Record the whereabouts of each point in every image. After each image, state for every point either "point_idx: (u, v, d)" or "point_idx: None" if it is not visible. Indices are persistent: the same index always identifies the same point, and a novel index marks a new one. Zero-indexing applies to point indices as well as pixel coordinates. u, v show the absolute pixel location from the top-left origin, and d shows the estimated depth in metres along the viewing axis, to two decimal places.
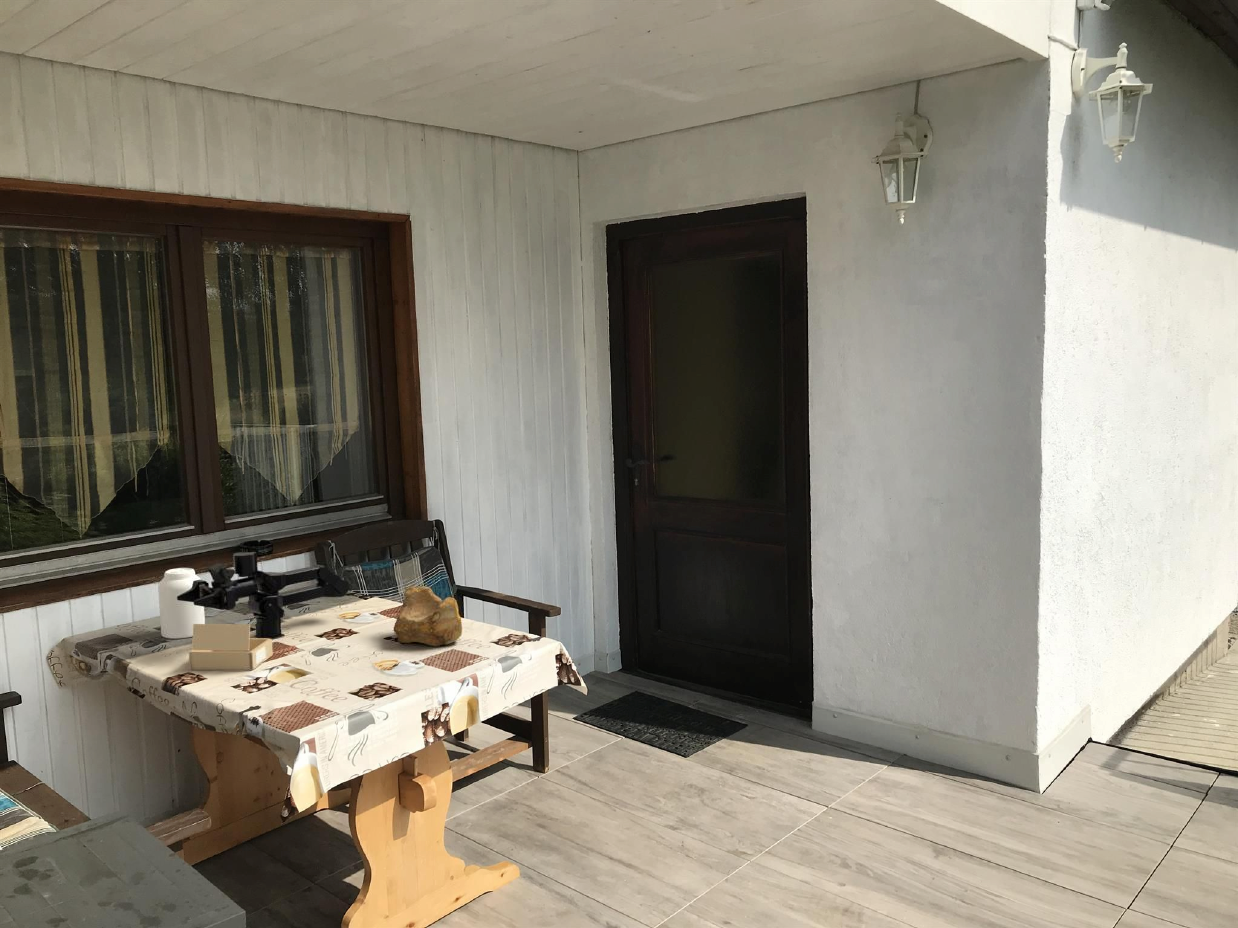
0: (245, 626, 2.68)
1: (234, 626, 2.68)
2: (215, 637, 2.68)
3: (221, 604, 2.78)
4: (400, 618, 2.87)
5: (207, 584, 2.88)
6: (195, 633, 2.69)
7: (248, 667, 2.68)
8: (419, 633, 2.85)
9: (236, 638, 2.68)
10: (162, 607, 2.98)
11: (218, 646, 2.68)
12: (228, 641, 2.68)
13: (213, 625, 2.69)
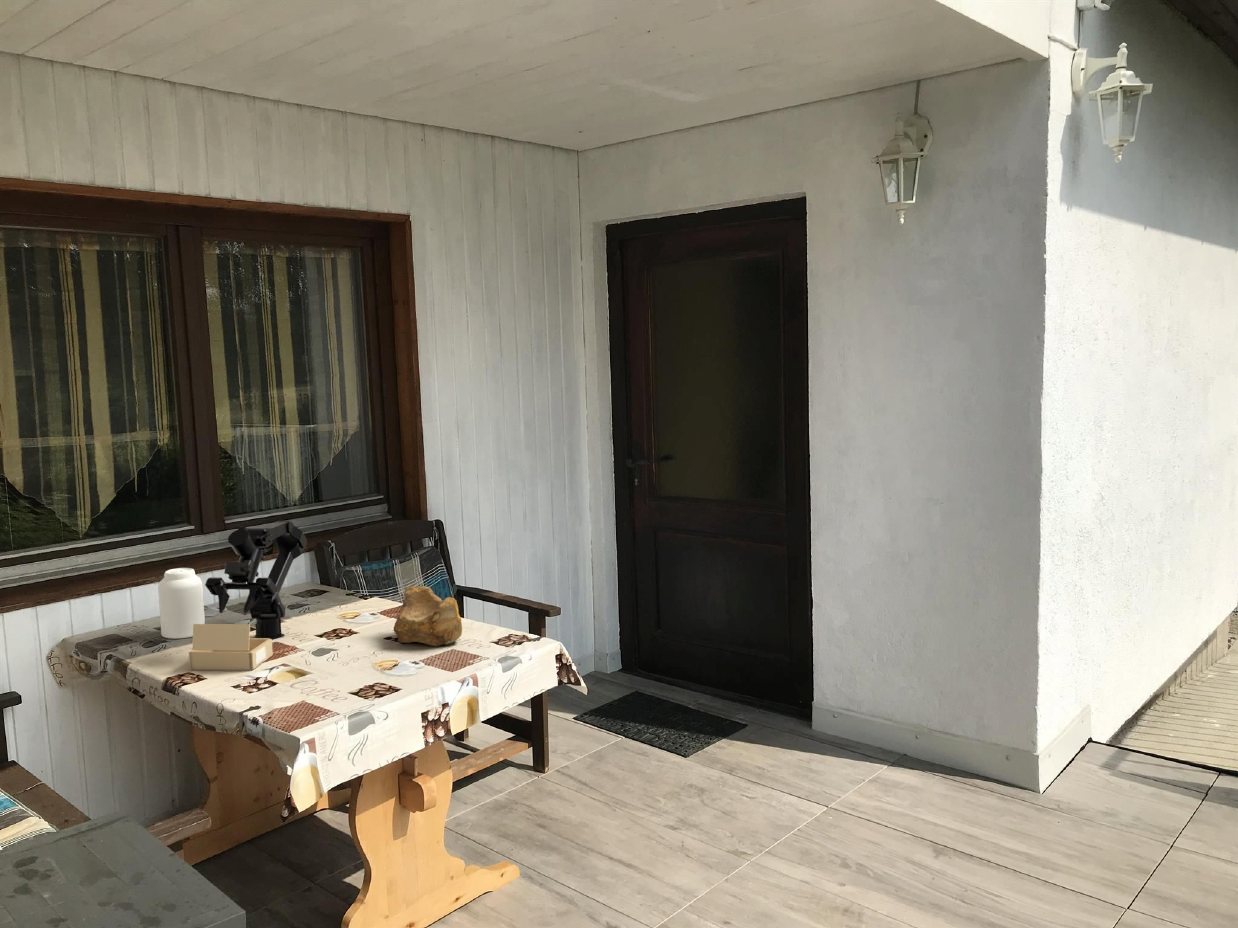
0: (245, 626, 2.68)
1: (234, 626, 2.68)
2: (215, 637, 2.68)
3: (262, 595, 2.80)
4: (400, 618, 2.87)
5: (221, 579, 2.80)
6: (195, 633, 2.69)
7: (248, 667, 2.68)
8: (419, 633, 2.85)
9: (236, 638, 2.68)
10: (162, 607, 2.98)
11: (218, 646, 2.68)
12: (228, 641, 2.68)
13: (213, 625, 2.69)
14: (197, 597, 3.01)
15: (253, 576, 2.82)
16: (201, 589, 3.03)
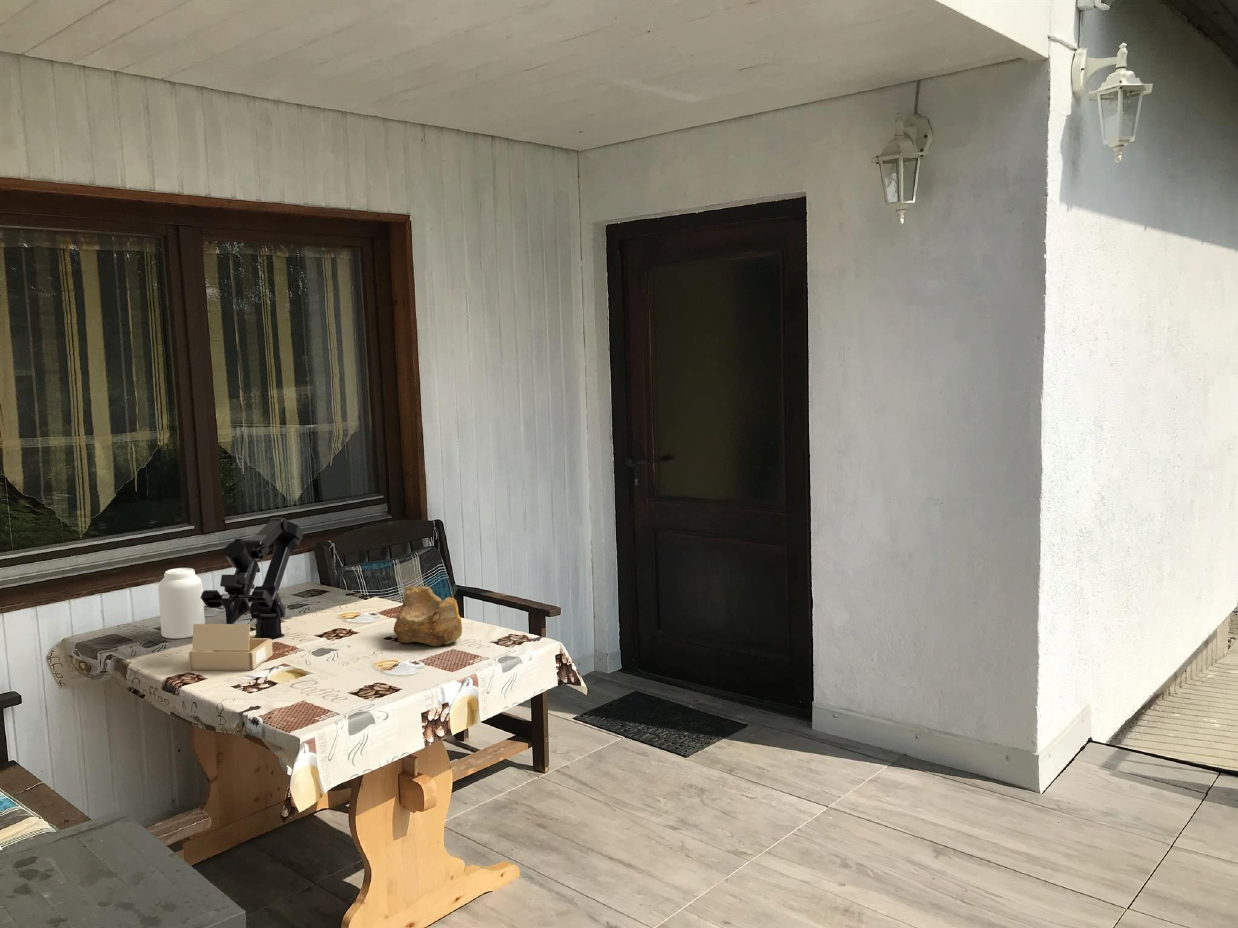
0: (245, 626, 2.68)
1: (234, 626, 2.68)
2: (215, 637, 2.68)
3: (247, 607, 2.77)
4: (400, 618, 2.87)
5: (217, 591, 2.78)
6: (195, 633, 2.69)
7: (248, 667, 2.68)
8: (419, 634, 2.85)
9: (236, 638, 2.68)
10: (162, 607, 2.98)
11: (218, 646, 2.68)
12: (228, 641, 2.68)
13: (213, 625, 2.69)
14: (197, 597, 3.01)
15: (249, 588, 2.79)
16: (201, 589, 3.03)
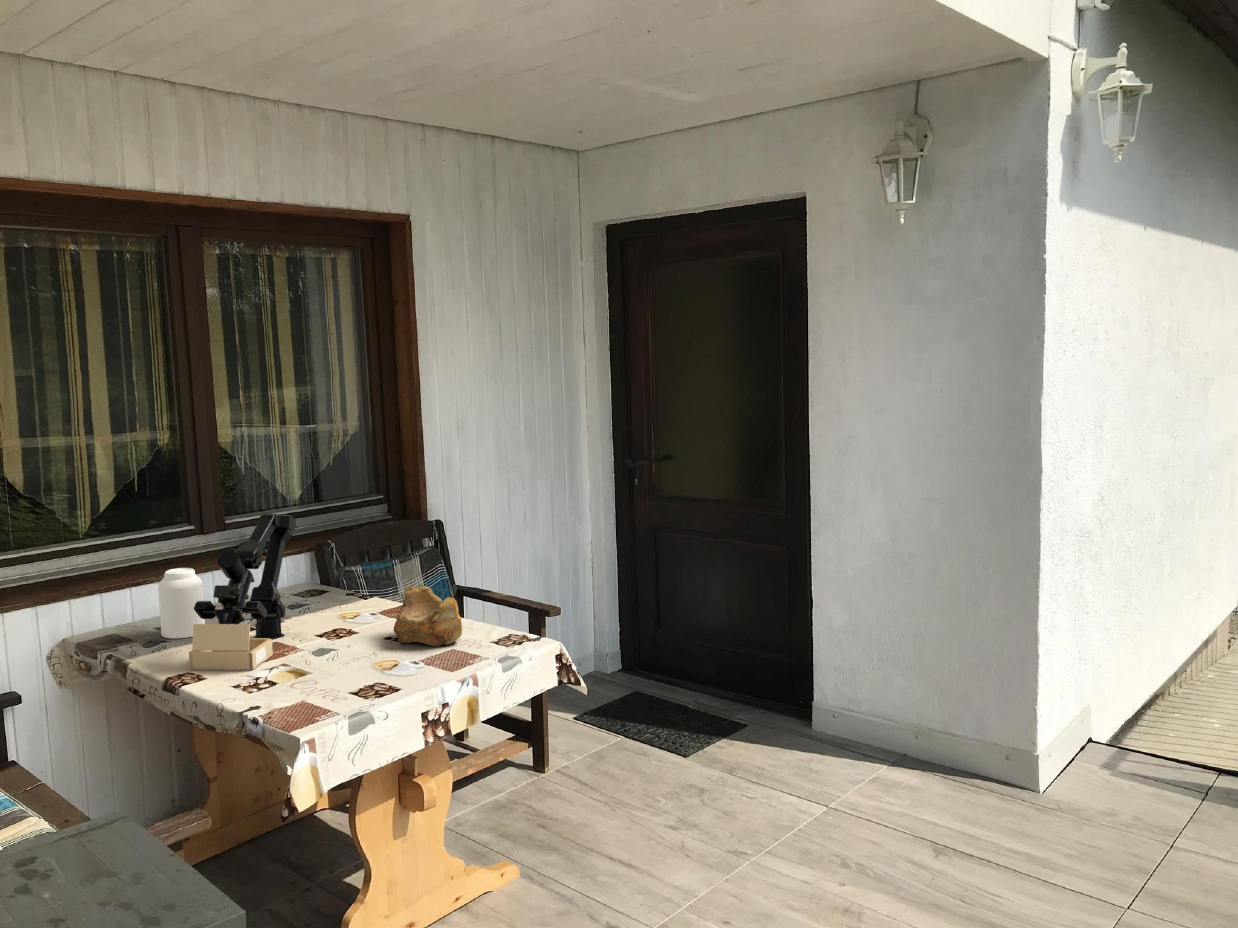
0: (245, 626, 2.68)
1: (234, 626, 2.68)
2: (215, 637, 2.68)
3: (241, 618, 2.74)
4: (400, 618, 2.87)
5: (210, 602, 2.74)
6: (195, 633, 2.69)
7: (248, 667, 2.68)
8: (419, 634, 2.85)
9: (236, 638, 2.68)
10: (162, 607, 2.98)
11: (218, 646, 2.68)
12: (228, 641, 2.68)
13: (213, 625, 2.69)
14: (197, 597, 3.01)
15: (243, 599, 2.76)
16: (201, 589, 3.03)
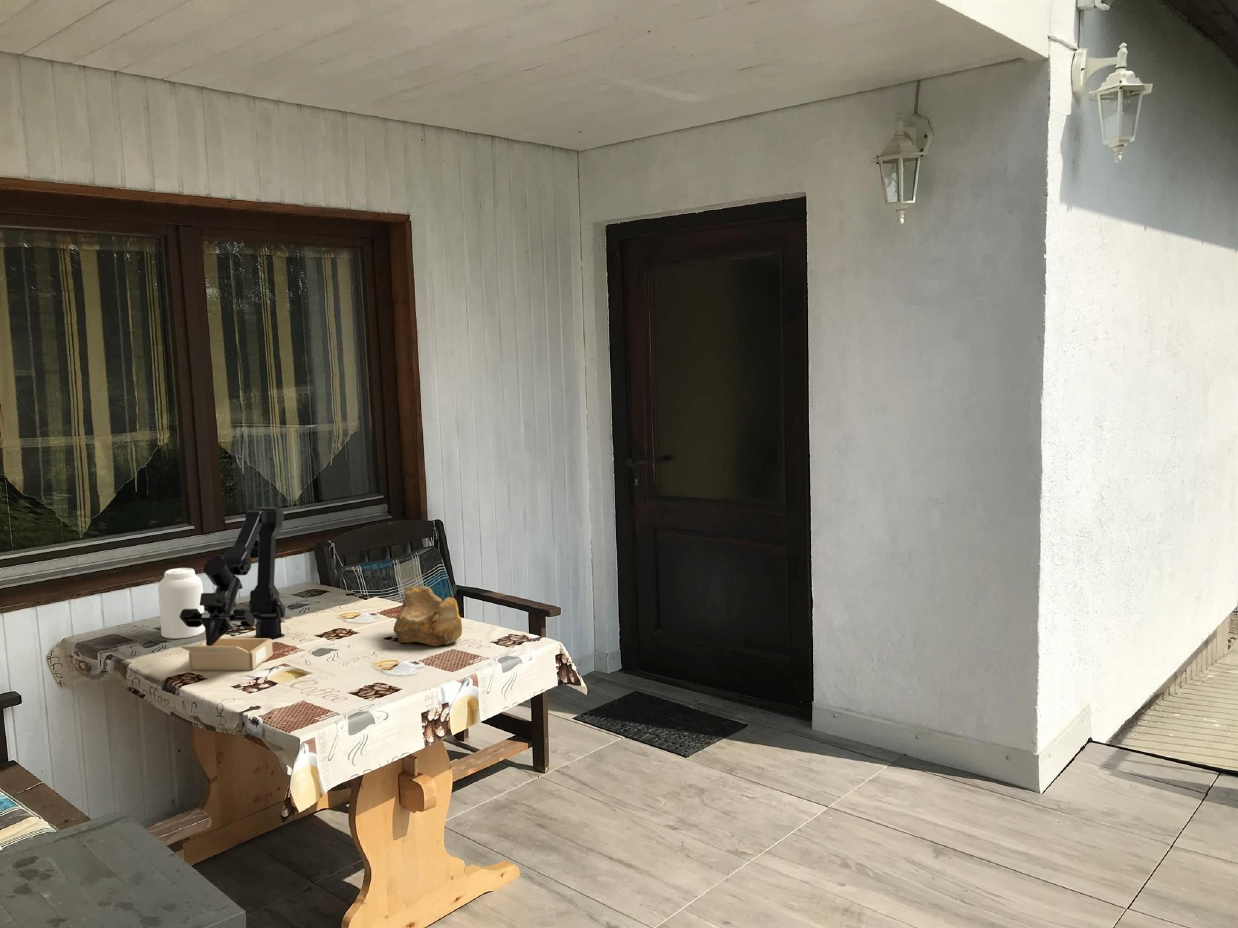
0: (233, 647, 2.61)
1: (222, 647, 2.61)
2: (208, 649, 2.64)
3: (228, 627, 2.66)
4: (400, 618, 2.87)
5: (196, 610, 2.66)
6: (186, 648, 2.64)
7: (248, 667, 2.68)
8: (419, 633, 2.85)
9: (230, 649, 2.64)
10: (162, 607, 2.98)
11: (215, 651, 2.66)
12: (223, 650, 2.65)
13: (200, 647, 2.61)
14: (197, 597, 3.01)
15: (230, 607, 2.68)
16: (201, 589, 3.03)
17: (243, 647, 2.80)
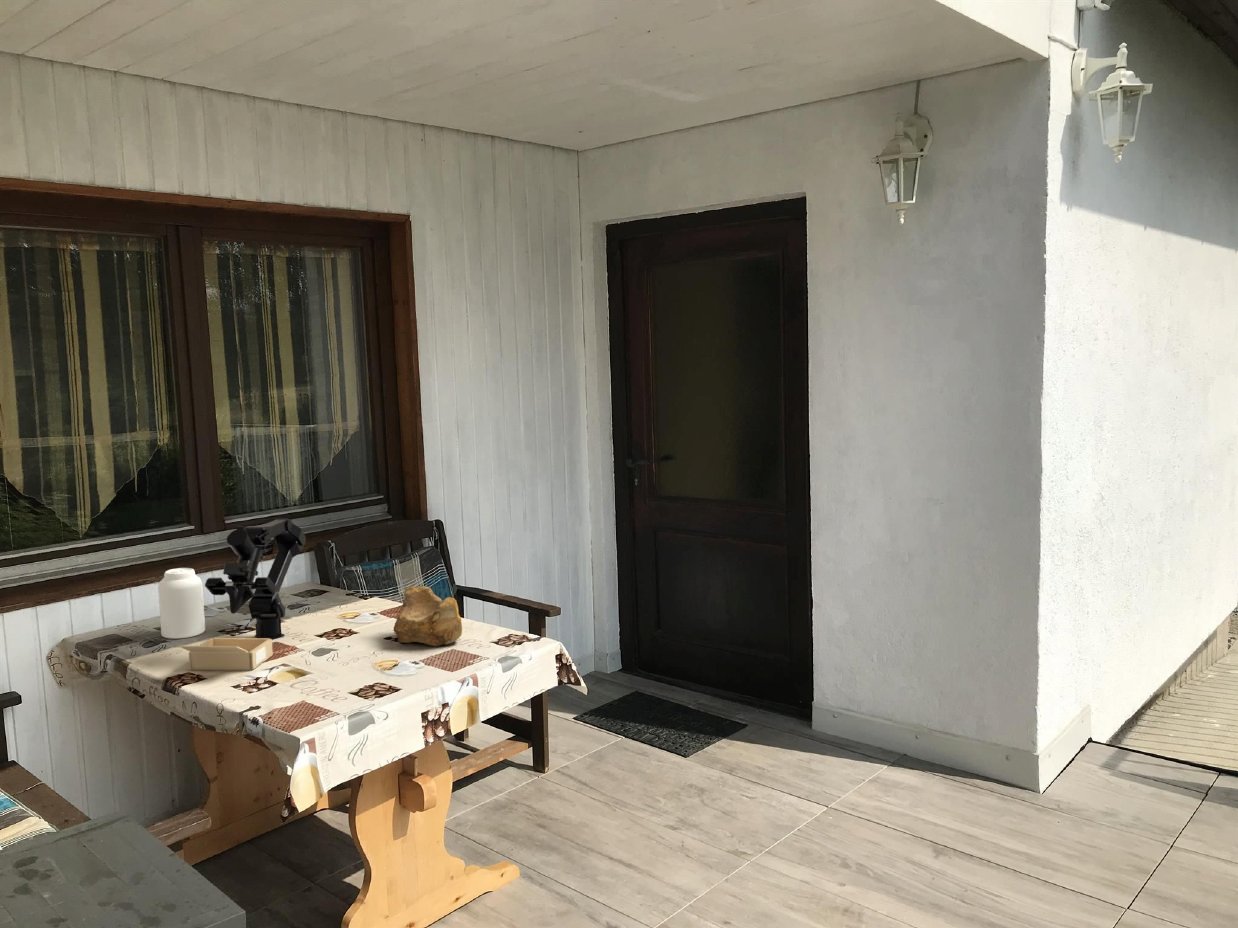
0: (233, 647, 2.61)
1: (222, 647, 2.61)
2: (208, 649, 2.64)
3: (251, 594, 2.80)
4: (400, 618, 2.87)
5: (220, 579, 2.80)
6: (186, 648, 2.64)
7: (248, 667, 2.68)
8: (419, 633, 2.85)
9: (230, 649, 2.64)
10: (162, 607, 2.98)
11: (215, 651, 2.66)
12: (223, 650, 2.65)
13: (200, 647, 2.61)
14: (197, 597, 3.01)
15: (252, 576, 2.82)
16: (201, 589, 3.03)
17: (243, 647, 2.80)
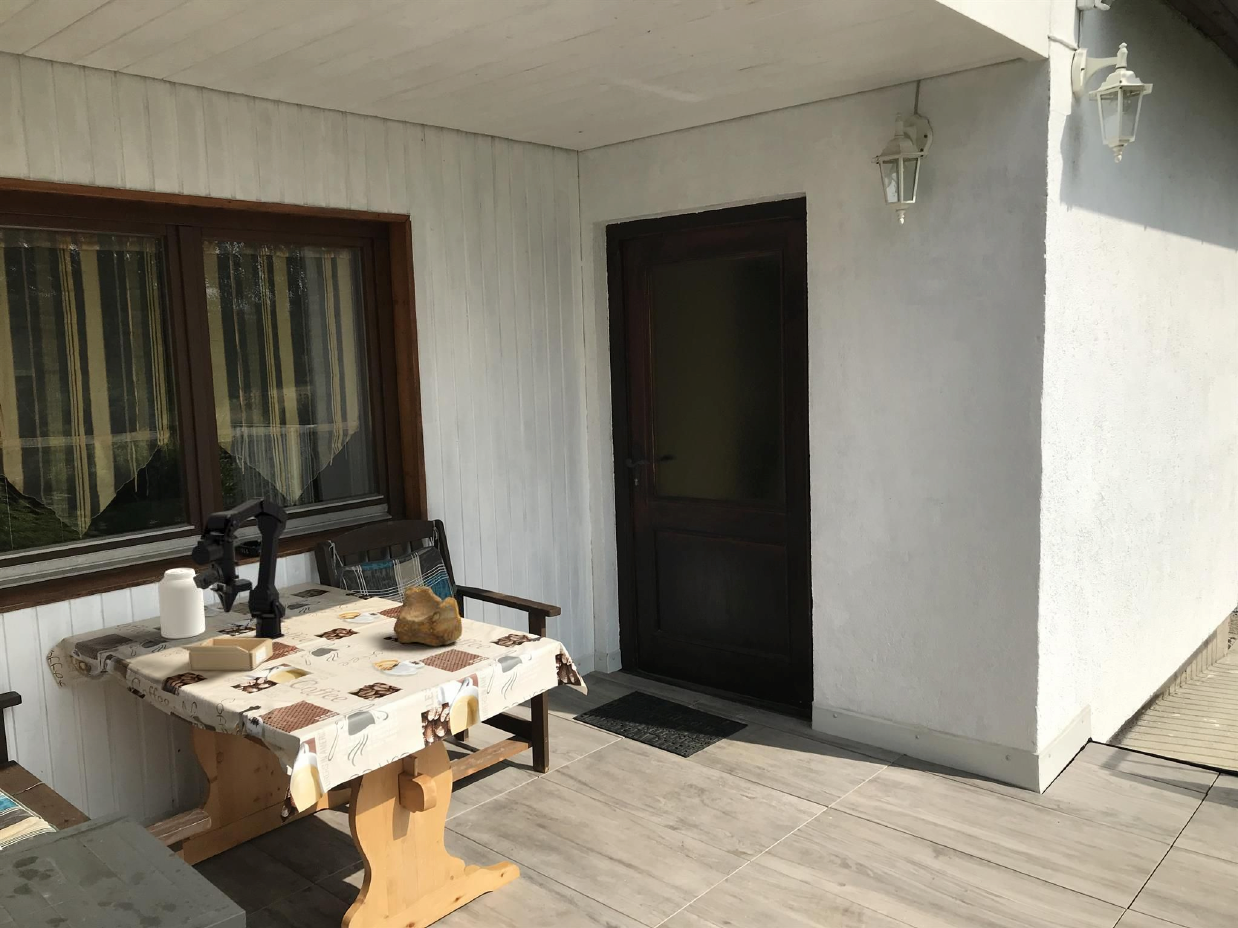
0: (233, 647, 2.61)
1: (222, 647, 2.61)
2: (208, 649, 2.64)
3: None
4: (400, 618, 2.87)
5: None
6: (186, 648, 2.64)
7: (248, 667, 2.68)
8: (419, 633, 2.85)
9: (230, 649, 2.64)
10: (162, 607, 2.98)
11: (215, 651, 2.66)
12: (223, 650, 2.65)
13: (200, 647, 2.61)
14: (197, 597, 3.01)
15: (229, 573, 2.75)
16: (201, 589, 3.03)
17: (243, 647, 2.80)
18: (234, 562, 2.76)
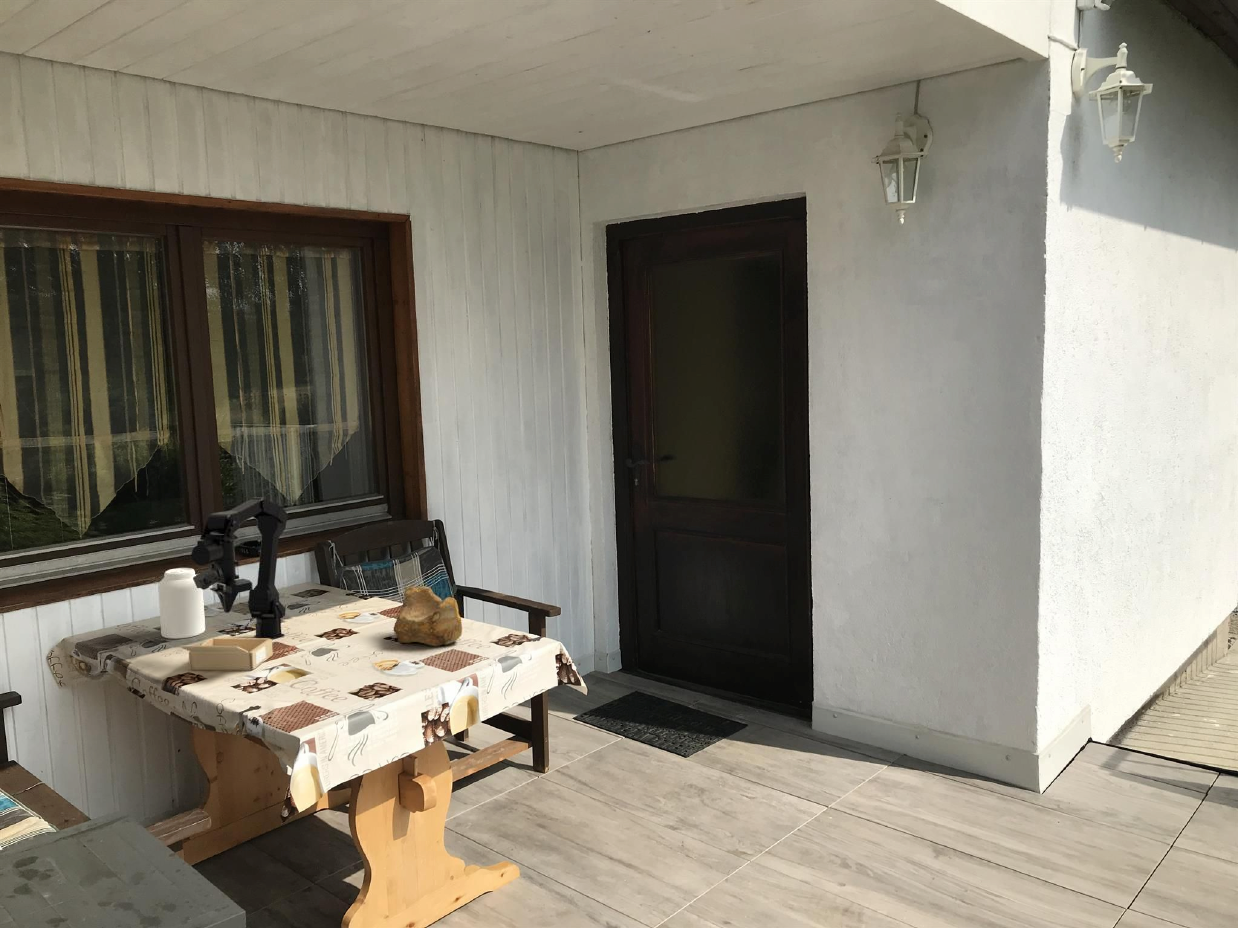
0: (233, 647, 2.61)
1: (222, 647, 2.61)
2: (208, 649, 2.64)
3: None
4: (400, 618, 2.87)
5: None
6: (186, 648, 2.64)
7: (248, 667, 2.68)
8: (419, 633, 2.85)
9: (230, 649, 2.64)
10: (162, 607, 2.98)
11: (215, 651, 2.66)
12: (223, 650, 2.65)
13: (200, 647, 2.61)
14: (197, 597, 3.01)
15: (229, 573, 2.75)
16: (201, 589, 3.03)
17: (243, 647, 2.80)
18: (234, 562, 2.76)
